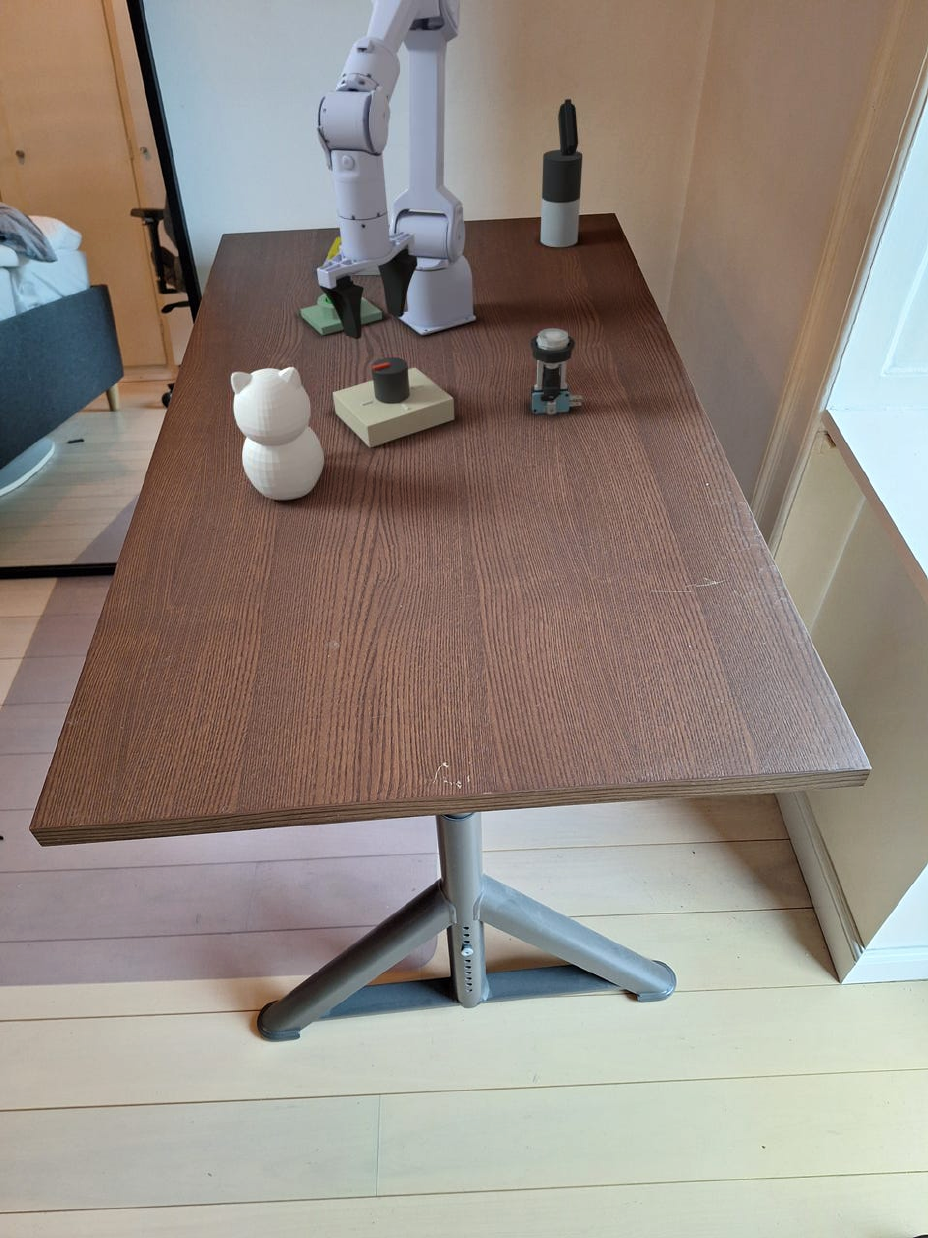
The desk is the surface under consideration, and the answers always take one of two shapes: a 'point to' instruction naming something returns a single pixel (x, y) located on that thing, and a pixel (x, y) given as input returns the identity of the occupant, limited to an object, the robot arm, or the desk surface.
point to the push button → (552, 372)
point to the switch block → (336, 315)
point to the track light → (562, 184)
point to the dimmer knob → (390, 380)
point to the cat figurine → (277, 433)
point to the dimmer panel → (393, 410)
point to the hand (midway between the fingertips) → (375, 325)
